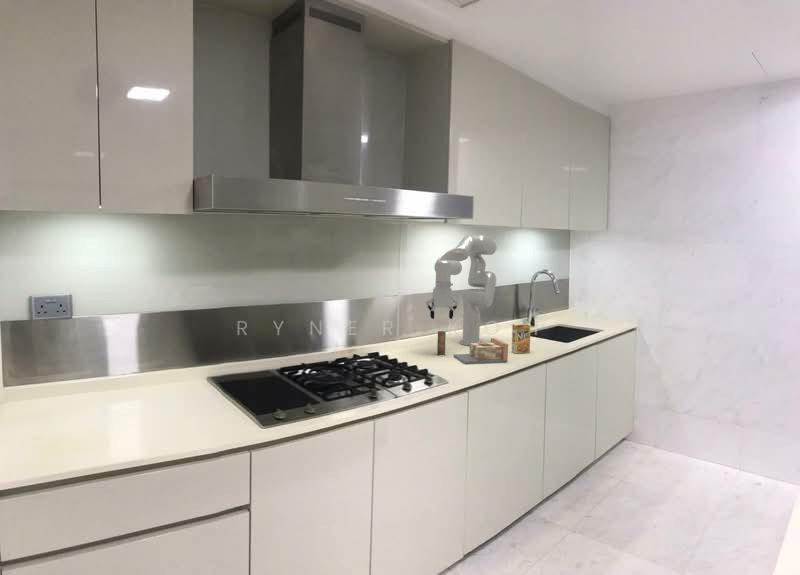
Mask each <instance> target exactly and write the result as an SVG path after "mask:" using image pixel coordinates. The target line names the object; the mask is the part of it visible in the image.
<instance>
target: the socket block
mask: <svg viewBox="0 0 800 575" xmlns="http://www.w3.org/2000/svg"><path fill="white" fill-rule="evenodd" d="M468 354H469V355H471V356H472V357H474V358H476V359H477V360H496V359H501V358H502V347H500V346H498V345H496V344H494V343H492V342H491V341H490V342H482V343H470V346H469V353H468Z"/></svg>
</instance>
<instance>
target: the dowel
mask: <svg viewBox="0 0 800 575" xmlns="http://www.w3.org/2000/svg"><path fill="white" fill-rule="evenodd" d="M446 337H447V336H446V331H444V330H443V331H442V330H440V331H439V330H438V331H437V346H436V349H437V351H436V352H437V354H436V355H437V356H439V355H444V356H446Z"/></svg>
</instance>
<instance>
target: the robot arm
mask: <svg viewBox="0 0 800 575" xmlns="http://www.w3.org/2000/svg"><path fill="white" fill-rule="evenodd" d="M496 251H497V243H496V242H495V240H494V239H492V238H491V237H488V236H486V235H483V234H468V235H465V236H464V237H463V238H462V239H461V240H460V242H459V243H458V244H457V246H456V247H454V248H452V249H449V250H448V251H445V252H443V253H442V254H441V255H439V257H438V258H437V259H436V261H435V263H434V266H433V268H434V271H435V286H434V287H433V289H432V294H431V295H432V296H431V299H429V300H427V301H425V305H426V307H427V309H428V310H429V311H430V314H429V315H430V316H429V317H430V318H431V319H432V320H434V319H435V309H436V308H448V310H449V312H448V317H449V319H450V320H452V319H453V317H454V312H455V310H456V309H458V305H459V304H460V303H459V301H457V300H456V299H453V290H452V286H453V285H454V283H453V282H451V279H452V276H457V275H458V276H459V274H460V273H461V272H462V270H463V265H462V264H461V262H462V261H465V260H467V259H468V258H470V268H469V272H468V278H467V284H468V286H470V287H472V288H467V289H465V290H464V291H463V292H462V294H461V299H462V305H463V306H462V307H463V315H462V316H463V317H462V318H463V319H462V339H461V340H459V344H460V345H463V346H467V347H468V346H469V347H470V343H483V341H481V340H480V335H481V334H480V329H481V328H480V327H481V312H480V310H479V307H482V308H483V307H484V308H489V307H491V306H492V304H493V301H494V296H495V291H496V285H497V277H496V274H495V272H492V271H488V270H487V271H486V261H485V259H484V258H483V255H485V256H491V255H494V254H495V253H496ZM478 288H480V289H478ZM430 304H431V305H430Z"/></svg>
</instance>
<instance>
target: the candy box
mask: <svg viewBox="0 0 800 575" xmlns="http://www.w3.org/2000/svg"><path fill="white" fill-rule="evenodd" d="M511 325H512V326H511V328H512V329H511V331H512V332H511V333H512V334H511V353H513V354H530V350H531V324H529V323H512V324H511Z"/></svg>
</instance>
